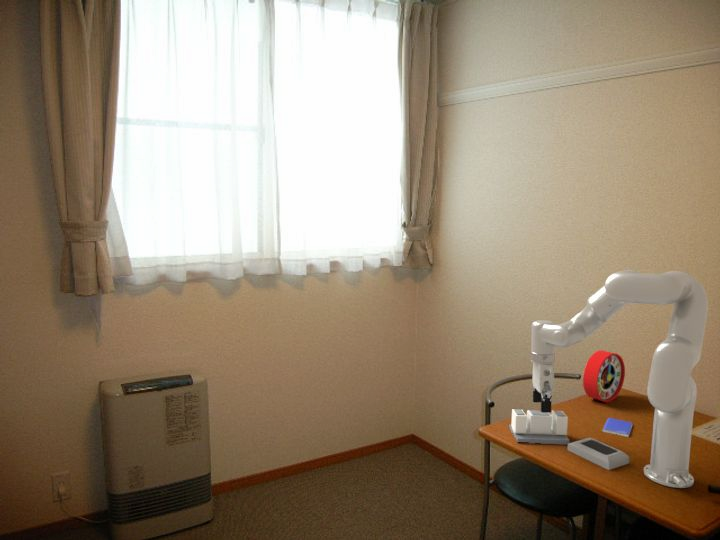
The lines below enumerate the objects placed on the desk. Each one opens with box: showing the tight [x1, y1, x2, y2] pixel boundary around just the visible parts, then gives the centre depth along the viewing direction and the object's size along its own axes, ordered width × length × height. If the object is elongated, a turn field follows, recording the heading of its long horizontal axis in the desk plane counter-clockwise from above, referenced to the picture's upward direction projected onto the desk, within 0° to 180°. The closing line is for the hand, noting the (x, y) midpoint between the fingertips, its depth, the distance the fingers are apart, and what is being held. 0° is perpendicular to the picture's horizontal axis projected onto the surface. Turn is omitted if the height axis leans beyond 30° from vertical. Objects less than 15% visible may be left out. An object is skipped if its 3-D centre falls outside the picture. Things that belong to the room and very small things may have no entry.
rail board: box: [508, 408, 571, 446], centre depth 181 cm, size 12×17×8 cm
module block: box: [526, 409, 552, 434], centre depth 181 cm, size 5×7×6 cm
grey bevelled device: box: [567, 437, 630, 471], centre depth 167 cm, size 10×4×15 cm
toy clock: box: [582, 349, 626, 403], centre depth 217 cm, size 20×6×20 cm, turn 124°
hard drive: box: [602, 417, 634, 438], centre depth 189 cm, size 2×8×12 cm
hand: (541, 407), depth 180 cm, fingers open, 9 cm apart
